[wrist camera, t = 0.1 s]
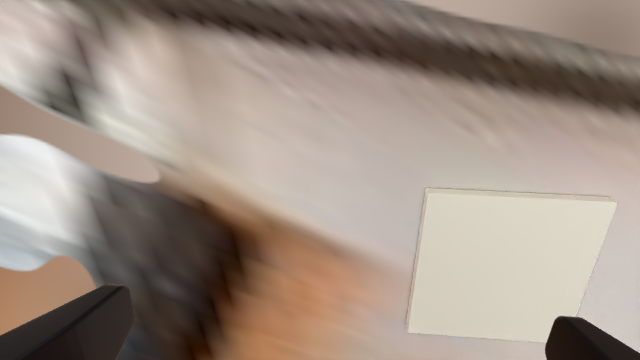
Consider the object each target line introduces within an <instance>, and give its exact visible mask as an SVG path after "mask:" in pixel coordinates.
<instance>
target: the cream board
mask: <svg viewBox="0 0 640 360" xmlns="http://www.w3.org/2000/svg"><path fill="white" fill-rule="evenodd" d="M617 204H618V202H617V201H615V200H614V199H612V198H610V197H604V196H583V195H563V194H542V193H521V192H500V191H479V190H458V189H437V188H425V195H424V202H423V209H422V216H421V223H420V229H419V236H418V243H417V250H416V257H415V264H414V271H413V278H412V284H411V291H410V298H409V305H408V312H407V319H406V328H407V333H417V334H431V335H445V336H459V337H473V338H487V339H501V340H515V341H528V342H542V343H546V342H547V339H548V337H549V334H550V331H551V328H552V325H553V323H554V320H555V319H556V318H557V317H558V316H572V317H576V315H577V312H578V309H579V307H580V304H581V301H582V299H583V296H584V293H585V291H586V288H587V285H588V282H589V280H590V277H591V274H592V272H593V269H594V266H595V264H596V261H597V258H598V256H599V253H600V250H601V247H602V245H603V242H604V239H605V237H606V234H607V231H608V229H609V226H610V223H611V221H612V218H613V215H614V212H615V210H616V207H617Z"/></svg>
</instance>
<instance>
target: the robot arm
mask: <svg viewBox="0 0 640 360" xmlns="http://www.w3.org/2000/svg"><path fill="white" fill-rule="evenodd" d="M134 316H135V315H134V309H133V305H132V300H131V295H130V291H129V288H128V287H127V286H125V285H121V284H106V285H103V286H101V287H99V288H97V289H95V290H93V291H91V292H89V293H87V294H85V295H83V296H81V297H79V298H77V299H74V300H72V301H70V302H68V303H66V304H64V305H62V306H60V307H58V308H56V309H54V310H52V311H50V312H48V313H46V314H44V315H41V316H39V317H37V318H35V319H33V320H31V321H29V322H27V323H25V324H23V325H21V326H19V327H17V328H15V329H13V330H11V331H9V332H6V333H5V334H2V335H0V360H116V358H117V356H118V354H119V352H120V350H121V348H122V346H123V344H124V342H125V340H126V338H127V336H128V334H129V332H130V330H131V328H132V326H133V323H134ZM545 354H546V358H547V360H640V353H638V352H637V351H635V350H633V349H632V348H630V347H629V346H627V345H625V344H624V343H622V342H620V341H619V340H617V339H616V338H614V337H612V336H611V335H609V334H607V333H606V332H604V331H602V330H601V329H599V328H598V327H596V326H594V325H593V324H591V323H589V322H588V321H586V320H584V319H583V318H580V317H572V316H558V317H557V318H556V319H555V320H554V323H553V325H552V328H551V331H550V334H549V337H548V339H547V342H546V346H545Z"/></svg>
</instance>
